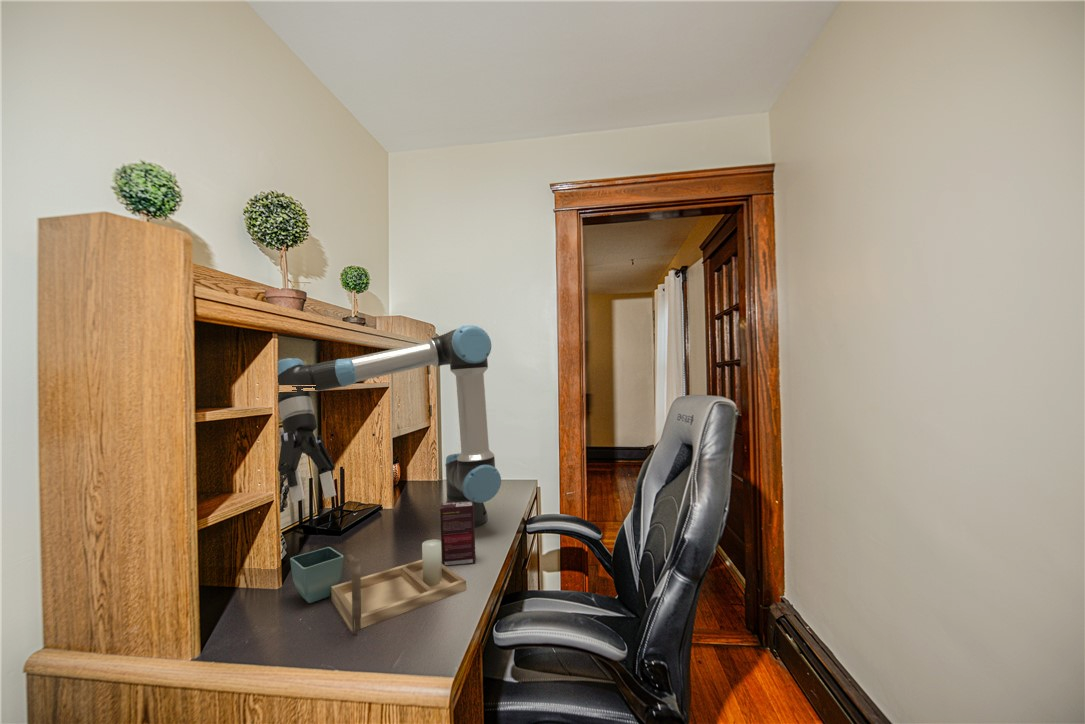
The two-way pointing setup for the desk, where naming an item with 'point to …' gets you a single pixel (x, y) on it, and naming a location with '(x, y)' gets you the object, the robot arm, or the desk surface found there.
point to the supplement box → (457, 533)
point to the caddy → (389, 592)
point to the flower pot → (316, 573)
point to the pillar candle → (432, 562)
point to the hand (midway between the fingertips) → (315, 498)
